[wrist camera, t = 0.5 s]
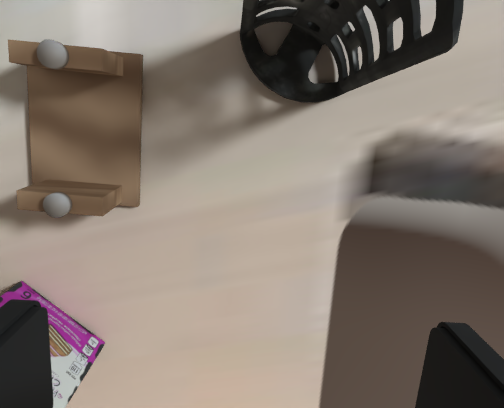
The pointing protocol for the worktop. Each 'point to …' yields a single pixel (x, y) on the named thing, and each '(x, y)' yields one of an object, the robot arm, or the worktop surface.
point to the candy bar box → (62, 345)
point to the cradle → (81, 127)
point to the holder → (336, 22)
